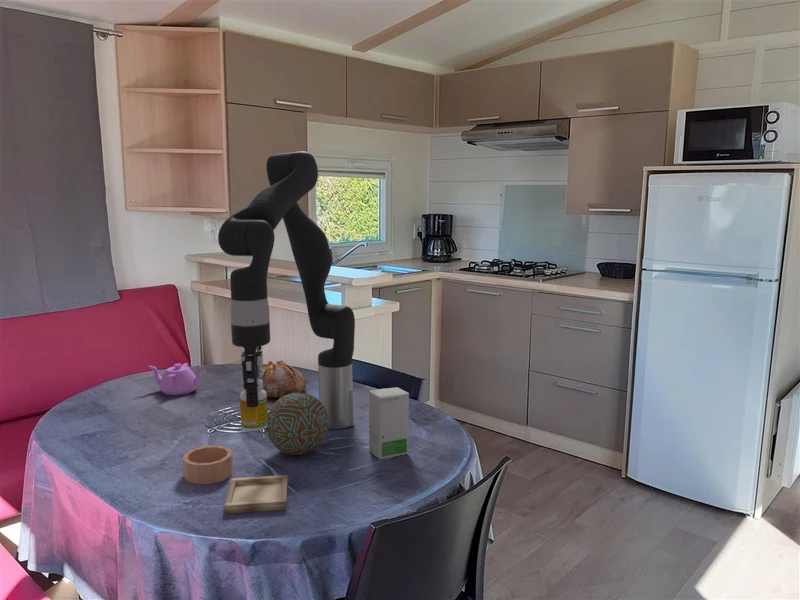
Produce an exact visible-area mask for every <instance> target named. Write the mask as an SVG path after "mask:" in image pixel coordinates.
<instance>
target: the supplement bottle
mask: <svg viewBox="0 0 800 600" xmlns="http://www.w3.org/2000/svg"><path fill="white" fill-rule="evenodd" d="M251 382H254V379H248V383H251ZM243 385H244V383H243V382H242V389H243V390H242V391H241V392H240V393H239V408H240V410H239V411H240V426H241V428H242V430H243V431H248V432H257V431H261V430H264V429H267V428H266V427H267V426H268V413H269V411H268V398H267V393H266V391H265V390H263V389H262V388H263V381H262V380H261V379H258V385H259V387H258V406H257V407H247V402H246V389H244V387H243Z"/></svg>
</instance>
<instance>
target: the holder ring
mask: <svg viewBox="0 0 800 600" xmlns="http://www.w3.org/2000/svg"><path fill="white" fill-rule="evenodd" d="M233 457H234V456H233V449H230V448H229V447H228V446H222V445H217V444H216V445H203V446H201V447H200V446H199V447H197V448H192V449H191V450H189V451H187V452H186V453H184V455H183V457H182V474H183V479H184V480H185V481H186V482H187V483H190V484H193V485H212V484H215V483H220V482H223V481H225V480H227V479H228V478H229V477H231V476H233V473H234V472H233V471H234V458H233Z"/></svg>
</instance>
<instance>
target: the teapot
mask: <svg viewBox="0 0 800 600" xmlns="http://www.w3.org/2000/svg"><path fill="white" fill-rule="evenodd" d="M148 367H149V368H151V370H152V371H153V375H154V380H155V383H157V385H159V390H160V391H161V392H162V393H163V394H165V395H166V396H184V395H188V394H190V393H193V392H194V391H195V390H196V389H197V387H198V385H199V384H200V383H201V381H202V369H203V368H204V367H205V365H199V366H198V368H197V369H196V375H195V373H194V371H193V370H192V369H191V368H190V367H189V364H188V362H186V363H183V364H182V363H175V364H173V366H171V367H168V368H167V369H166V370H165V371H164V372H163V375H162V376H161V375H160V373H159V370H158V368H157V366H154V365H148Z"/></svg>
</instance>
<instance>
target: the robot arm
mask: <svg viewBox="0 0 800 600" xmlns="http://www.w3.org/2000/svg"><path fill="white" fill-rule="evenodd" d="M265 167H266V168H265V169H266V175H267V180H268V183H269V186H267V187H266V188H265V189H263V190H262V191H260V192H259V193H258V194H257V195H256V196H255V197H254V198H253V199H252V200H251V202H250V203H249V205H248V206H247V207H245V208H242V209H241V210H239V211H237V212H236V213H234V214H233V215H231V216H229V217H228V218H227V219H226V220H224V222H223V223H222V224H221V226H220V228H219V231H218V234H217V235H218V236H217V241H218V245H219V247H220V249H221V251H223V252H224V253H225V254H227V255H228V256H236V257H252V259H251V263H249V265H248V266H244V267H239V268H235V269H234V270H232V271H231V273H230V276H229V277H230V278H229V280H230V282H229V283H230V328H231V331H230V332H231V343H232V345H233V346H235V347H238V348H240V347H241V348H244V351H243V350H242V353H241V355H240V362H241V366H242V367H241V370H242V371H241V372H242V373H241V375H242V379H243V381H242V388H243V387H244V389H246V402H247V407H257V406H258V387H259V385H258V379H259V378H261V371H262V367H263V355H264V354H263V350H262V347H263V346H267V345H268V344H270V342H271V326H270V325H271V324H270V323H271V321H270V306H269V300H268V299H269V298H268V281H267V280H268V272H269V266H270V261H271V257H272V252H273V249H274V245H275V239H276V237H275V232H274V231H275V229H276V228H277V226H278V225H279V224H280V222H281V221H283V223H284V226H285V228H286V229H285V230H286V232H287V236H288V240H289V245H290V248H291V252H292V254H293V255H292V256H293V260H294V262H295V265H296V268H297V271H298V274H299V278H300V281H301V286H302V290H303V293H304V299H305V302H306V308H307V313H308V314H307V315H308V319H309V320H308V321H309V324H310V328H311V330H312V332H313V334H314V335H315V336H317V337H319V338H323V339H329V340H333V344H332V348H329V349H325V350H321V351H320V352H319V353H318V356H317V369H318V370H317V371H318V374H317V376H318V400H319V401H320V402H321V403H322V404H323V406H324V407H325V409H326V412H327V415H328V420H329V424H328V430H329V429H330V430H340V429H341V430H342V429H345V428H346V429H347V428H349V427H354V426H355V425H354V424H355V423H354V391H353V390H354V389H353V356H354V350H355V333H356V332H355V328H356V325H355V324H356V323H355V322H356V319H355V313H354V311H353V309H352V308H351V307H350V306H348V305H340V304H331V303H330V304H329V302H328V299H327V297H326V292H325V285H326V281H327V279H328V276H329V274H330V271H331V268H332V263H333V258H332V257H333V255H332V253H331V250H330V245H329V241H328V238H327V236H326V234H325V232H324V231H323V229H321V228H320V226H319V225H318V224H316V222H315V221H314V220H313V219H312V218H311V217H310V216H309V215H308V214H307V213H305V211H304V210H303V209H302V207H300V205H299V203H298V201H300V200H301V199H302V198H303V197H304V196H305V195H306V194H308V193H309V192H310V191H312V190H313V189H314V188H315V186H316V185H317V183H318V178H319V171H318V170H319V169H318V164H317V161H316V159H315V157H314V155H313V154H311V153H310V152H308V151H305V150H304V151H291V152H283V153H277V154H273V155H270V156H269V157H268V159H267V161H266V166H265ZM248 379H254V382H251V383H248ZM243 383H244V385H243ZM244 389H243V390H244Z"/></svg>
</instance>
